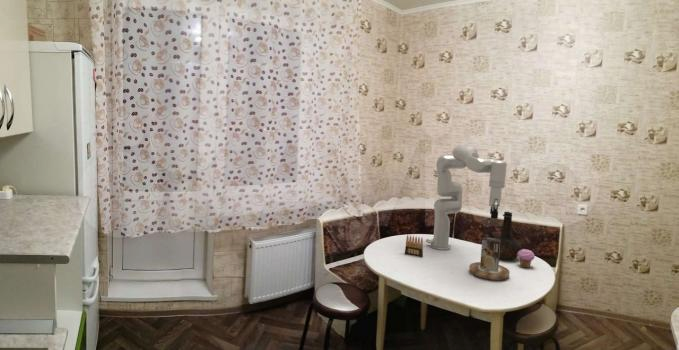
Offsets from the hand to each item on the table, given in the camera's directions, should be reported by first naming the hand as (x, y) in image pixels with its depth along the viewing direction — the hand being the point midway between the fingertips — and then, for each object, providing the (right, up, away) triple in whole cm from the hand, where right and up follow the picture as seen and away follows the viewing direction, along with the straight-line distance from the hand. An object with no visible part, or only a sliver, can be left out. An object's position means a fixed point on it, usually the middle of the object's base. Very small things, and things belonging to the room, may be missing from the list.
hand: (493, 216), depth 210 cm
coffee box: (-1, -28, +4) cm, 29 cm away
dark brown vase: (+19, -28, +32) cm, 47 cm away
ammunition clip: (-36, -27, +30) cm, 54 cm away
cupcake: (+25, -31, +18) cm, 43 cm away
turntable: (-1, -31, +4) cm, 32 cm away
